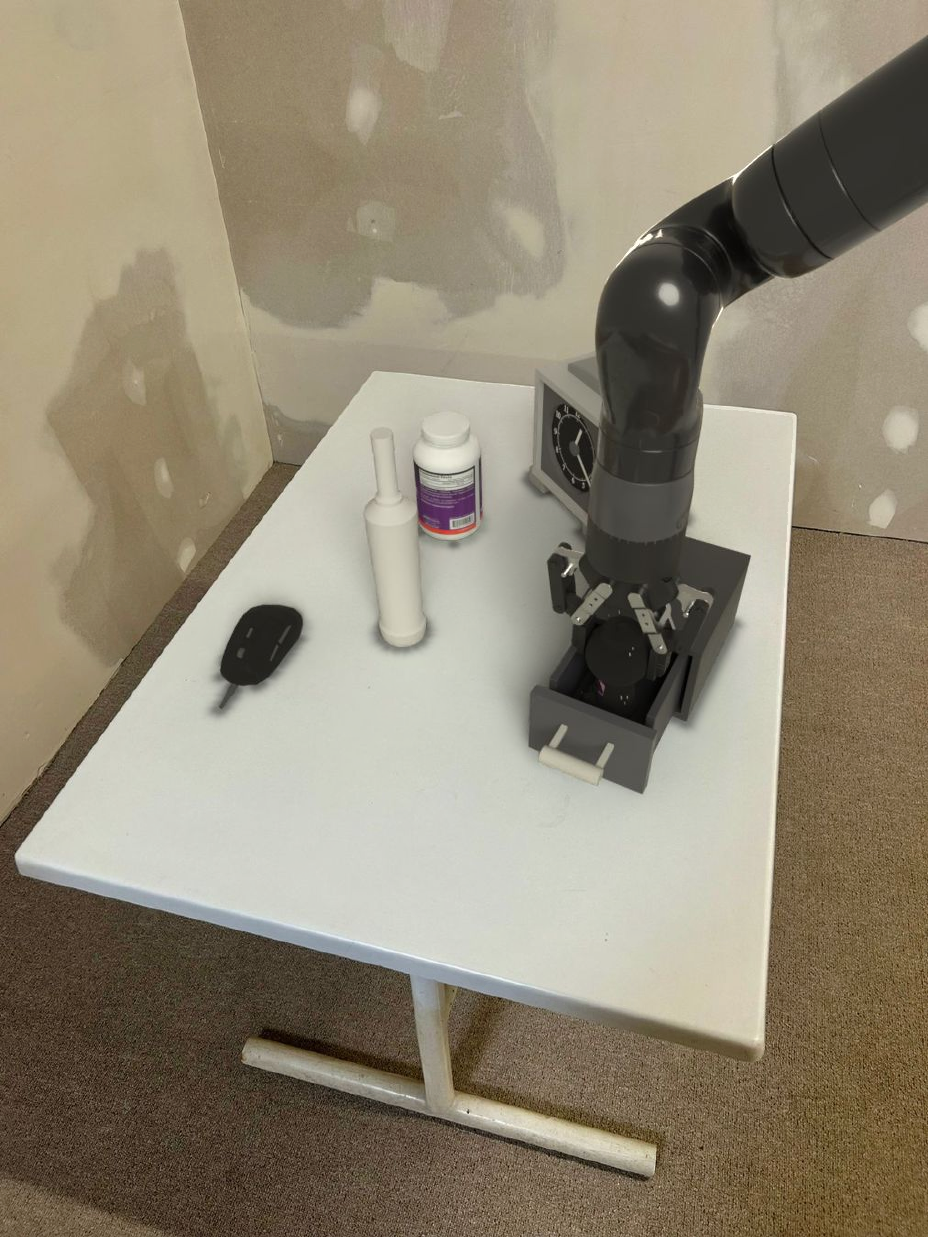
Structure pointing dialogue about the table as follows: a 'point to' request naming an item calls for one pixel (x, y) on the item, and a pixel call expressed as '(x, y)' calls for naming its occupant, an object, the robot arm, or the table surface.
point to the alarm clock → (566, 430)
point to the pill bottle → (448, 477)
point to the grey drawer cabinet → (727, 579)
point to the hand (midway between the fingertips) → (618, 660)
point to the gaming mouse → (259, 644)
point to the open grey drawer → (602, 723)
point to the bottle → (394, 549)
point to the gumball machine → (617, 665)
